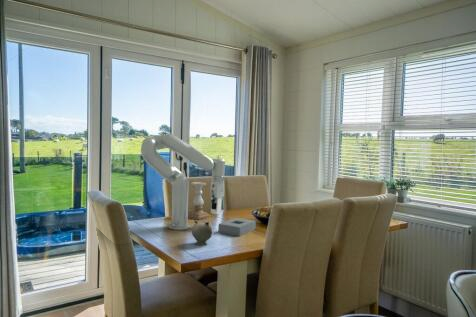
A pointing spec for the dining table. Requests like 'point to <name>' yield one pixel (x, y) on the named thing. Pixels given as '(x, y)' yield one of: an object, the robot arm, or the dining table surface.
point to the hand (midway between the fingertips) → (216, 208)
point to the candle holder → (198, 203)
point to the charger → (217, 206)
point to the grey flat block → (237, 226)
